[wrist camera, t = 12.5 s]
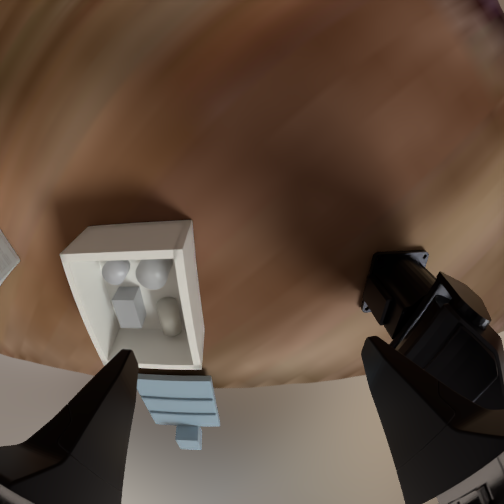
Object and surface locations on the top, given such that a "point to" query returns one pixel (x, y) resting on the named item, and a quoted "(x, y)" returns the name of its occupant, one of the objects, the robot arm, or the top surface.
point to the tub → (139, 291)
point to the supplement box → (6, 258)
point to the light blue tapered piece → (180, 404)
